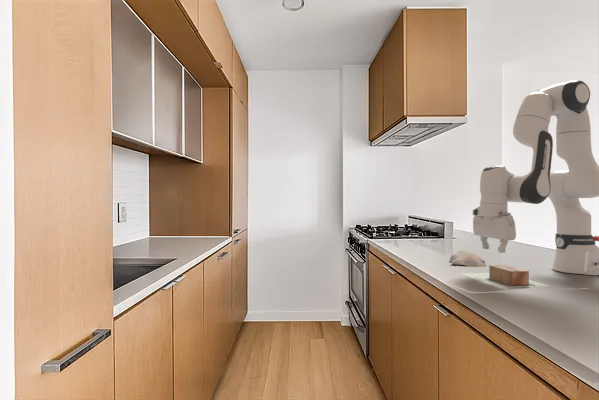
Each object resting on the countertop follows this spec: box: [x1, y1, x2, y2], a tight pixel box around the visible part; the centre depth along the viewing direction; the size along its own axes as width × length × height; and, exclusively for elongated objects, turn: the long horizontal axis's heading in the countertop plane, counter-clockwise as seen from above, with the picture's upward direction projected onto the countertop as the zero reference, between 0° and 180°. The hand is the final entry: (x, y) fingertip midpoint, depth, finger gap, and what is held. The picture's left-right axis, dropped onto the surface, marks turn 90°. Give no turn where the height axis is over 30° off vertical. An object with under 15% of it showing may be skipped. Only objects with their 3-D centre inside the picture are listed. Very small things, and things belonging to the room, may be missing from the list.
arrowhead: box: [449, 250, 487, 268], centre depth 184 cm, size 14×5×30 cm
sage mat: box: [458, 272, 550, 289], centre depth 142 cm, size 18×24×1 cm
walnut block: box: [488, 264, 530, 286], centre depth 138 cm, size 6×4×12 cm
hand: (493, 250), depth 146 cm, fingers open, 8 cm apart
